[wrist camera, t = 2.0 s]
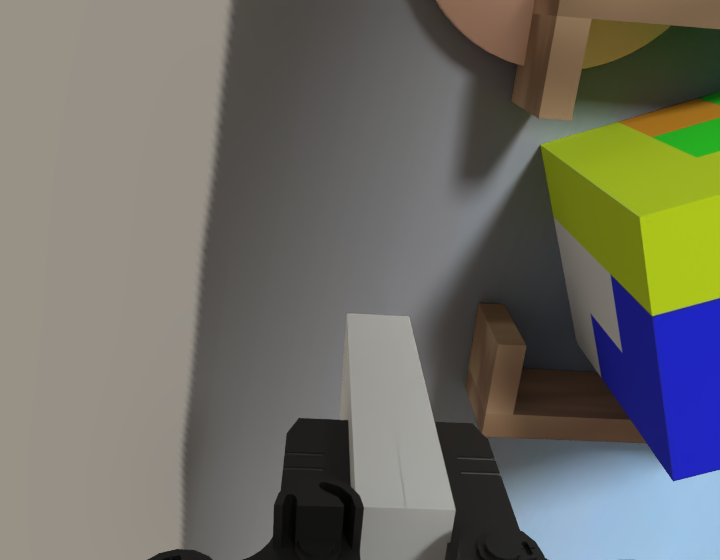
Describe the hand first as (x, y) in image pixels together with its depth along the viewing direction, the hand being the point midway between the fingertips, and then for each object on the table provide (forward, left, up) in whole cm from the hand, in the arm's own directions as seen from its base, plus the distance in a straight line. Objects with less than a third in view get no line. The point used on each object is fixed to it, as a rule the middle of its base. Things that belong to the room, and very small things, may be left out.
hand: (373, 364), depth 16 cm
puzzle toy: (0, +14, -14) cm, 20 cm away
